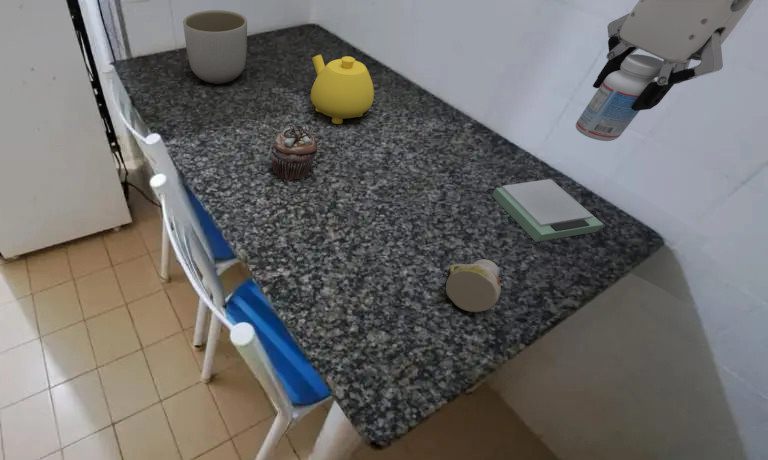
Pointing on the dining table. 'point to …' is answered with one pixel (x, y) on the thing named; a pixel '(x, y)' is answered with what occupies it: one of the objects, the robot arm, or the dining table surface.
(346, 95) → the teapot
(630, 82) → the pill bottle
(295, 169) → the cupcake
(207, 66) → the planter
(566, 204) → the scale
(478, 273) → the white floral pitcher
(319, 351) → the dining table surface
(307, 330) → the dining table surface
